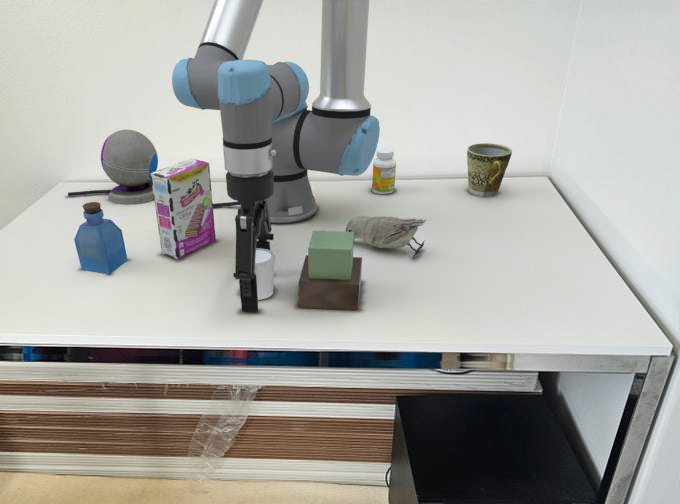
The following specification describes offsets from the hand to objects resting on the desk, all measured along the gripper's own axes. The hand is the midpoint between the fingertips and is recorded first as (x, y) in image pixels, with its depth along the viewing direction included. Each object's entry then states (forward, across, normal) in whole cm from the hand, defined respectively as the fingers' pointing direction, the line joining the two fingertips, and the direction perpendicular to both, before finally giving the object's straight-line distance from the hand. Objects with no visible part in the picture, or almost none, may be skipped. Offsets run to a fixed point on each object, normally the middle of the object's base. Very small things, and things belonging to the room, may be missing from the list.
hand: (257, 291), depth 109 cm
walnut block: (0, 0, -13) cm, 13 cm away
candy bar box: (0, +17, +17) cm, 24 cm away
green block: (-5, 0, -13) cm, 14 cm away
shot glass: (0, 0, 0) cm, 0 cm away
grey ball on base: (0, +45, +38) cm, 60 cm away
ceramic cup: (0, +52, -45) cm, 69 cm away
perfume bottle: (0, +8, +31) cm, 32 cm away
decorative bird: (0, +20, -22) cm, 30 cm away
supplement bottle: (0, +53, -21) cm, 57 cm away
